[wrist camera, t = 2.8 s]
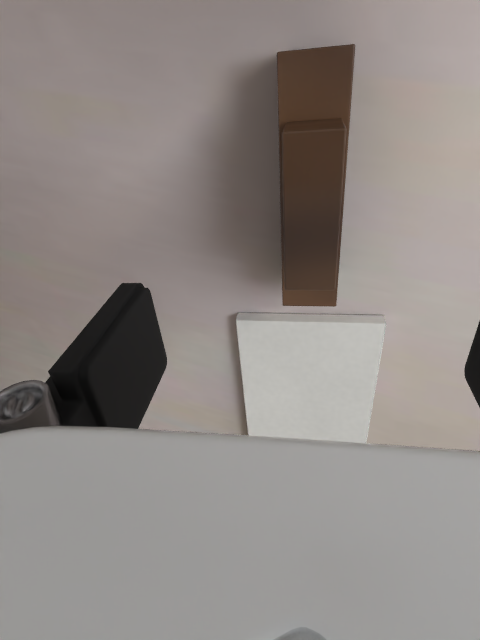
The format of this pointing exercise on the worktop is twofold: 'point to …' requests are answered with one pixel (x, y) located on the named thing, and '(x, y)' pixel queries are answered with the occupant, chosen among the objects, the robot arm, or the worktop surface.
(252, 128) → the worktop surface
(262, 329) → the tile
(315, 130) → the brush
